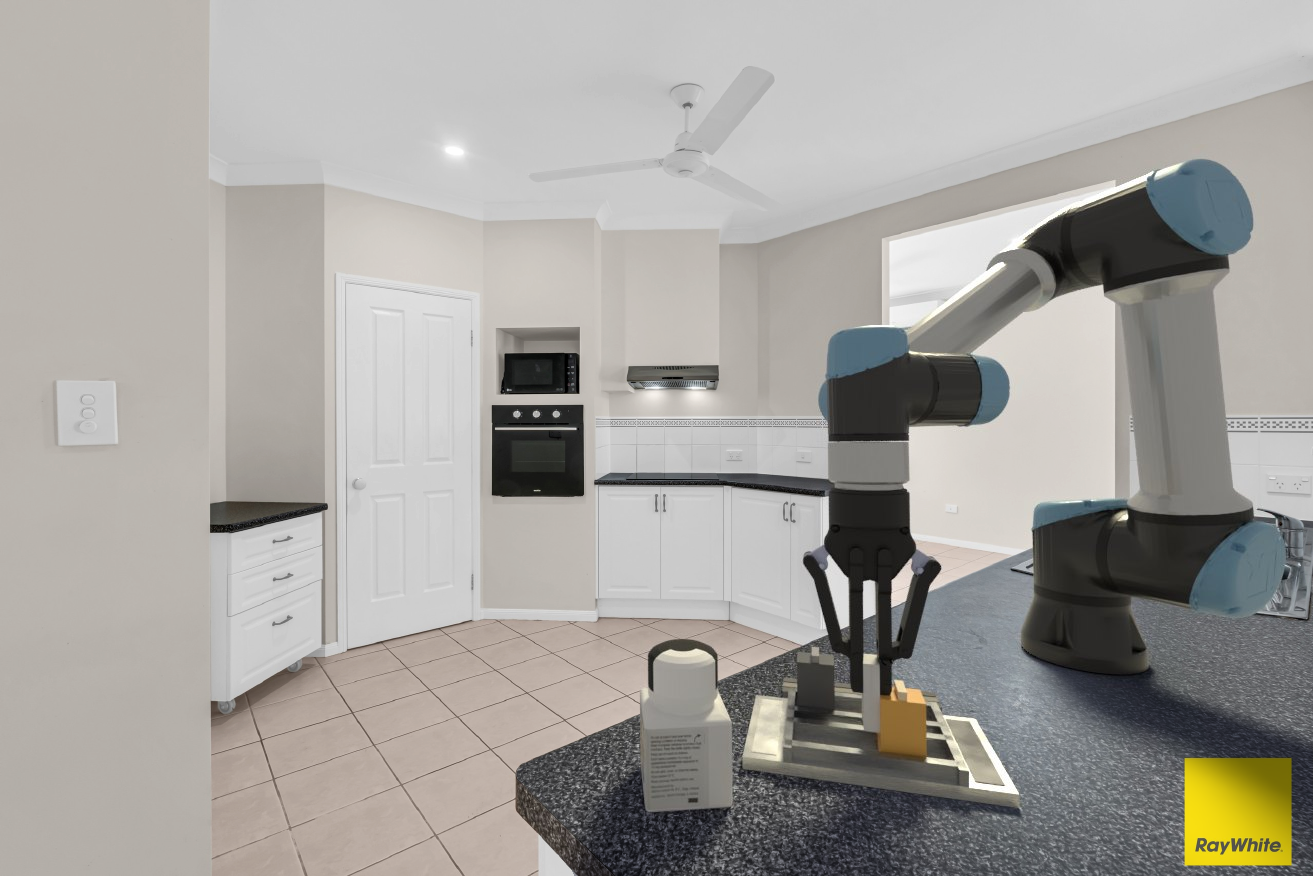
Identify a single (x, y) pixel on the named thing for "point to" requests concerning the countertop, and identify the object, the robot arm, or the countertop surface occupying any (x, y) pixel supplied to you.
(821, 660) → the toggle
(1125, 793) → the countertop surface
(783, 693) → the strapped plank bundle
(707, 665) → the container
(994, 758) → the panel
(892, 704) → the toggle
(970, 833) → the countertop surface
